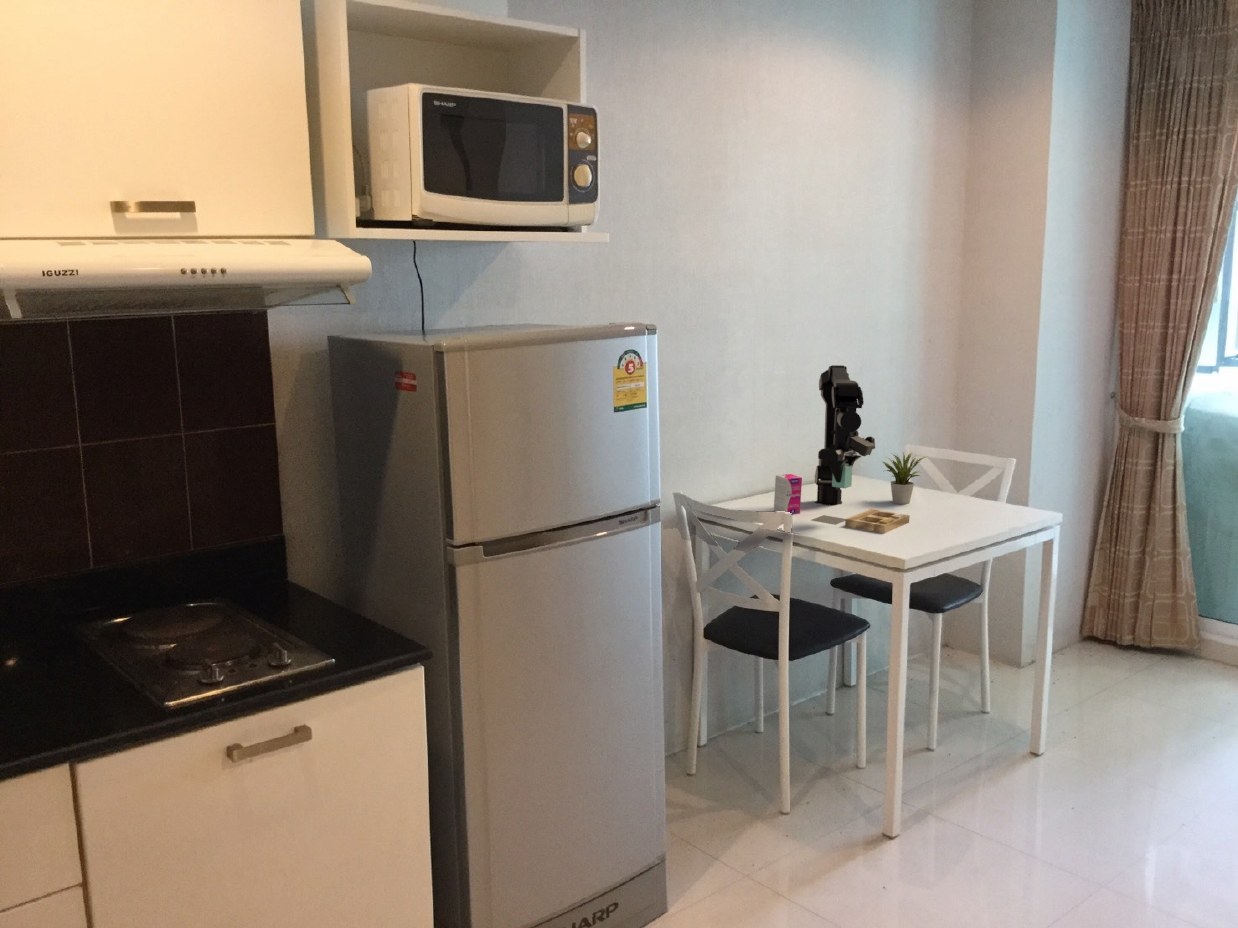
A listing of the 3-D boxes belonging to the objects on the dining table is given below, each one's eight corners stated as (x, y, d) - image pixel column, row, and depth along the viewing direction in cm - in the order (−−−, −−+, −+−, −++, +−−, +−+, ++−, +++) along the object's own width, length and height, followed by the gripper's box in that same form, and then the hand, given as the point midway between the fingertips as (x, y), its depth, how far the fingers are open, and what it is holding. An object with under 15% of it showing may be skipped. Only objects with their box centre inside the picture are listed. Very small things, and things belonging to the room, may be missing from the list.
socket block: (845, 527, 302) (845, 517, 301) (870, 517, 314) (870, 507, 313) (884, 534, 294) (885, 524, 294) (909, 523, 306) (909, 513, 306)
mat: (810, 521, 308) (810, 520, 308) (823, 516, 314) (823, 515, 314) (835, 525, 303) (835, 524, 303) (848, 520, 310) (848, 519, 309)
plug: (832, 486, 304) (833, 463, 303) (838, 484, 307) (839, 461, 306) (844, 488, 302) (845, 465, 301) (851, 486, 305) (852, 463, 304)
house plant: (920, 496, 341) (923, 446, 338) (934, 506, 328) (937, 454, 325) (876, 496, 341) (878, 446, 338) (888, 506, 327) (891, 454, 324)
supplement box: (784, 516, 314) (786, 478, 311) (773, 512, 319) (774, 475, 317) (800, 514, 316) (802, 476, 314) (788, 510, 321) (790, 473, 319)
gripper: (854, 433, 289) (851, 490, 292) (886, 426, 303) (883, 480, 306) (818, 429, 296) (815, 484, 299) (850, 422, 310) (848, 475, 313)
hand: (842, 481), depth 304 cm, fingers closed on plug, 4 cm apart
